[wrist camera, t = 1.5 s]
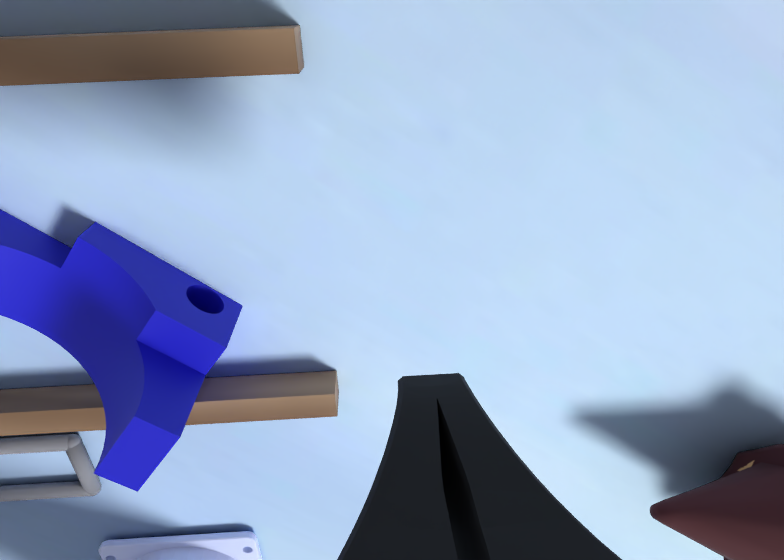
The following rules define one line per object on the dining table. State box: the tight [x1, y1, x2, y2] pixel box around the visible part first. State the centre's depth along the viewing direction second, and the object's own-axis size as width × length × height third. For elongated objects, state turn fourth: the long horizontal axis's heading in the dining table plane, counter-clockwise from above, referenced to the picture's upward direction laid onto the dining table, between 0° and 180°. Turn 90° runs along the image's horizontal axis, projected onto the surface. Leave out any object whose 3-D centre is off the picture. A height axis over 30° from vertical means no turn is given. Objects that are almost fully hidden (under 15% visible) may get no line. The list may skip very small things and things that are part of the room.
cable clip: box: [0, 209, 242, 491], centre depth 17 cm, size 12×4×6 cm, turn 52°
